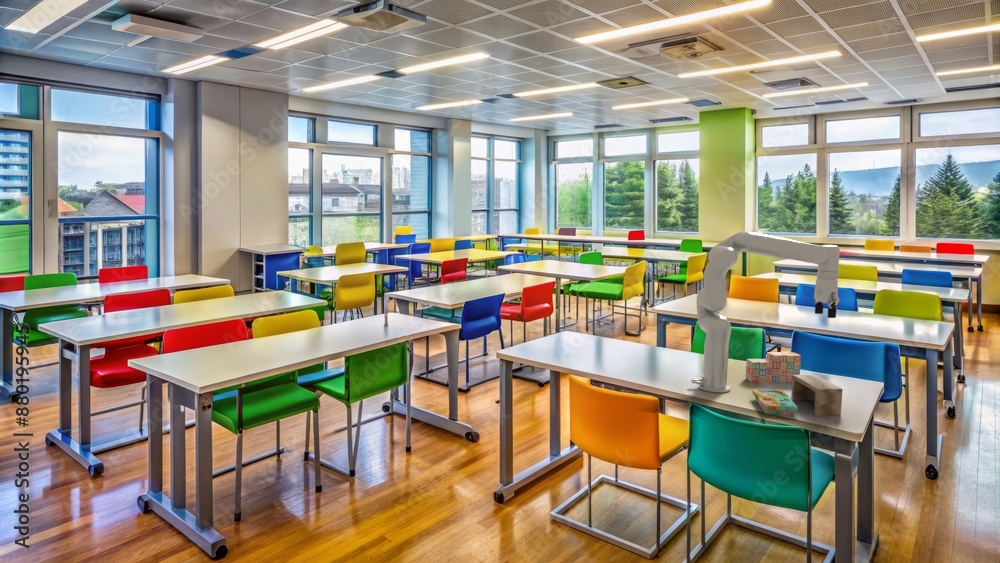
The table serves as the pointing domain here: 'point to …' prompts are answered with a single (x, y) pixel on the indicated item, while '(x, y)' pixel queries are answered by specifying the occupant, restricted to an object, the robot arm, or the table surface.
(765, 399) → the puzzle game
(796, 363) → the stack of blocks
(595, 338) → the table surface
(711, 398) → the table surface
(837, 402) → the low shelf
